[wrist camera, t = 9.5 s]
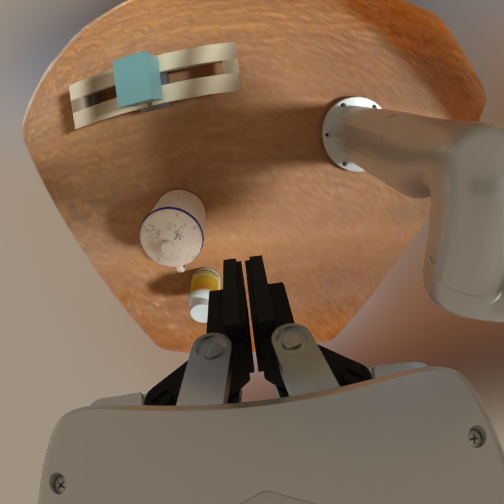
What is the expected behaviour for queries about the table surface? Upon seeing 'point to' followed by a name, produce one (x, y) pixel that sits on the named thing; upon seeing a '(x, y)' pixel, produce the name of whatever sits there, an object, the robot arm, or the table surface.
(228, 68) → the beam
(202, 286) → the supplement bottle
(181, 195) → the teacup with lid
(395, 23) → the table surface
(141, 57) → the block
